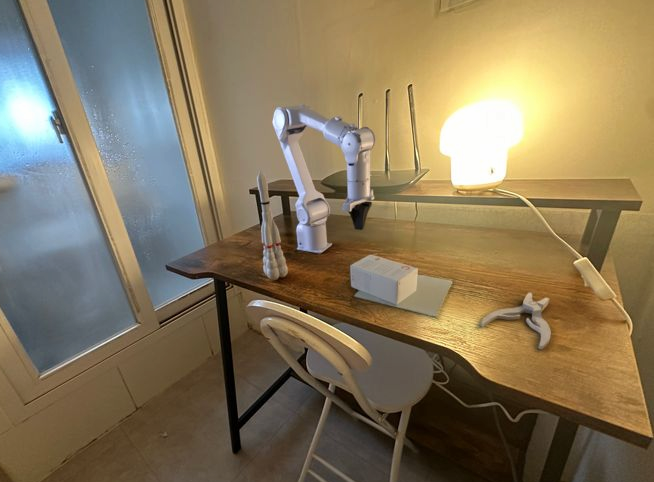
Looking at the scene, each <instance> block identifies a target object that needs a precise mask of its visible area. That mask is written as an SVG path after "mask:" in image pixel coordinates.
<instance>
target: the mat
mask: <svg viewBox="0 0 654 482" xmlns="http://www.w3.org/2000/svg"><path fill="white" fill-rule="evenodd" d="M452 285H453V280H450V279H445V278H439V277H434V276H429V275H423V274H418V273H417V286H416V291H415V292H414V293H413V294H411V295H410V296H409V297H407V298H406V299H404V300H403V301H402V302H400V303H399V304H398V305H395V304H393V303H390V302H388V301H385V300H383V299H380V298H378V297H375V296H373V295H370V294H368V293H365V292H363V291H360V290H358V291H357V292H356V293H355V294H354V296H353V297H354V298H358V299H362V300H366V301H369V302H374V303H377V304H380V305H381V304H382V305H386V306H390V307H394V308H396V309H397V308H398V309H402V310H405V311H409V312H413V313H417V314H421V315H424V316H429V317H432V318H437V316H438V313H439V312H440V309H441V307H442V305H443V303H444V301H445V299H446V297H447V295H448V292H449V290H450V288H451V286H452Z"/></svg>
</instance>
